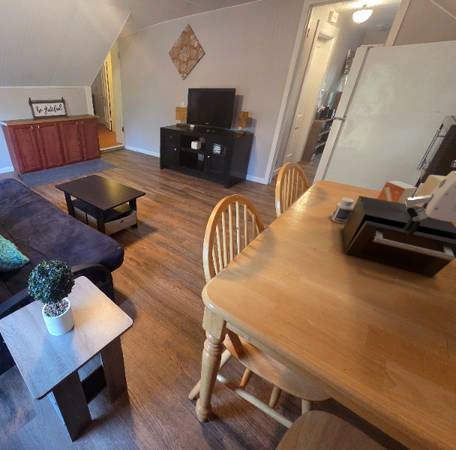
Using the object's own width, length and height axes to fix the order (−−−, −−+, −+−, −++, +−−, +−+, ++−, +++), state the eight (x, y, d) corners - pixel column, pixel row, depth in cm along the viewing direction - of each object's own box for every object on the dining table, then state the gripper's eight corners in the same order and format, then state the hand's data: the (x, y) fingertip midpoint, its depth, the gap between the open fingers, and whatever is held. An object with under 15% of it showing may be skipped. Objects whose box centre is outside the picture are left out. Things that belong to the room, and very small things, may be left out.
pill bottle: (349, 223, 101) (360, 202, 96) (337, 224, 100) (348, 203, 95) (339, 216, 105) (348, 196, 100) (328, 217, 105) (337, 197, 99)
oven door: (434, 289, 72) (473, 258, 61) (344, 263, 81) (366, 233, 71) (430, 274, 75) (467, 242, 65) (345, 251, 84) (365, 220, 74)
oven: (429, 274, 75) (462, 234, 67) (345, 251, 85) (364, 214, 77) (415, 247, 87) (441, 210, 79) (342, 230, 96) (359, 195, 88)
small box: (371, 207, 113) (386, 181, 106) (383, 206, 114) (398, 180, 107) (388, 216, 106) (405, 188, 99) (401, 214, 107) (418, 187, 100)
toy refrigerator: (431, 235, 93) (469, 184, 82) (408, 232, 95) (441, 182, 84) (420, 225, 100) (453, 176, 89) (398, 222, 102) (428, 174, 91)
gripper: (435, 167, 50) (391, 236, 59) (567, 185, 43) (494, 260, 52) (424, 158, 56) (385, 222, 65) (540, 173, 48) (478, 243, 57)
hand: (434, 239), depth 58 cm, fingers open, 9 cm apart
